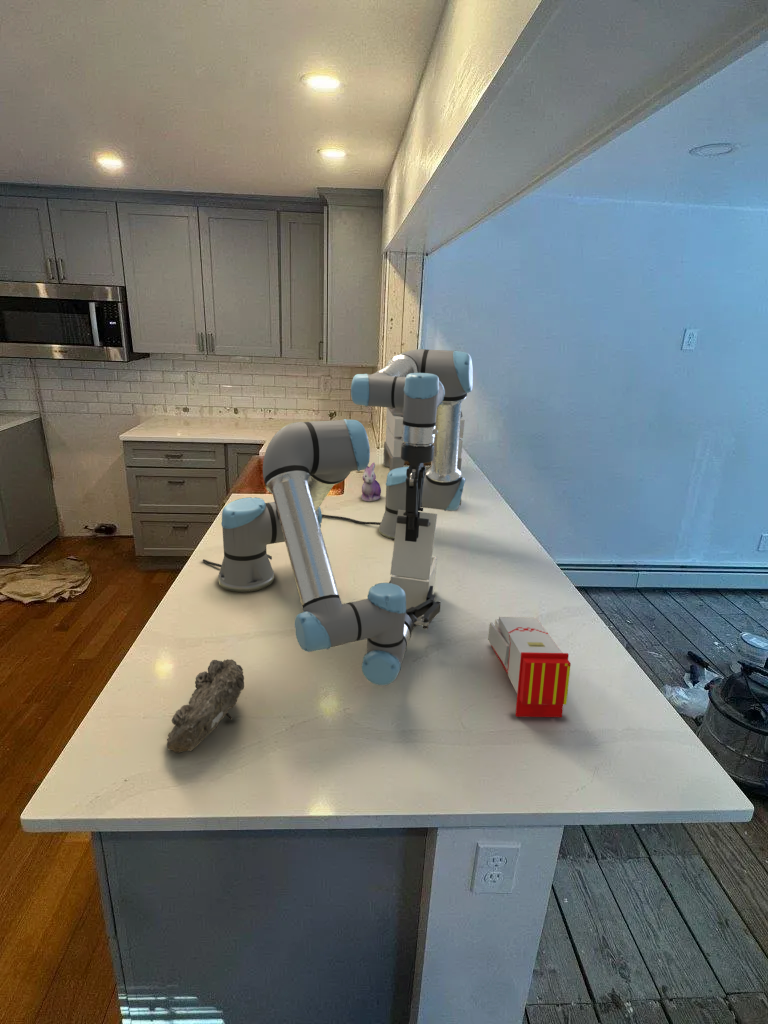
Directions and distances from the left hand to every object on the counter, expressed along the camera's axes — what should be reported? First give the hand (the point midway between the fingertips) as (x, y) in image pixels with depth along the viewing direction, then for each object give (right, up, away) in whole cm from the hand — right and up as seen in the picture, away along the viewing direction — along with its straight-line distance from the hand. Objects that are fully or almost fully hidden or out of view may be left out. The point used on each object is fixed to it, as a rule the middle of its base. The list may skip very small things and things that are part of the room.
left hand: (411, 587), depth 146 cm
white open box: (+1, -5, +6) cm, 8 cm away
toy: (+23, -16, -22) cm, 36 cm away
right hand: (0, +13, -9) cm, 16 cm away
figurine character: (+20, +22, +85) cm, 90 cm away
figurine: (-13, +25, +89) cm, 93 cm away
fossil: (-40, -19, -38) cm, 58 cm away
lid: (+1, +11, -4) cm, 12 cm away
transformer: (+10, +38, +129) cm, 135 cm away
